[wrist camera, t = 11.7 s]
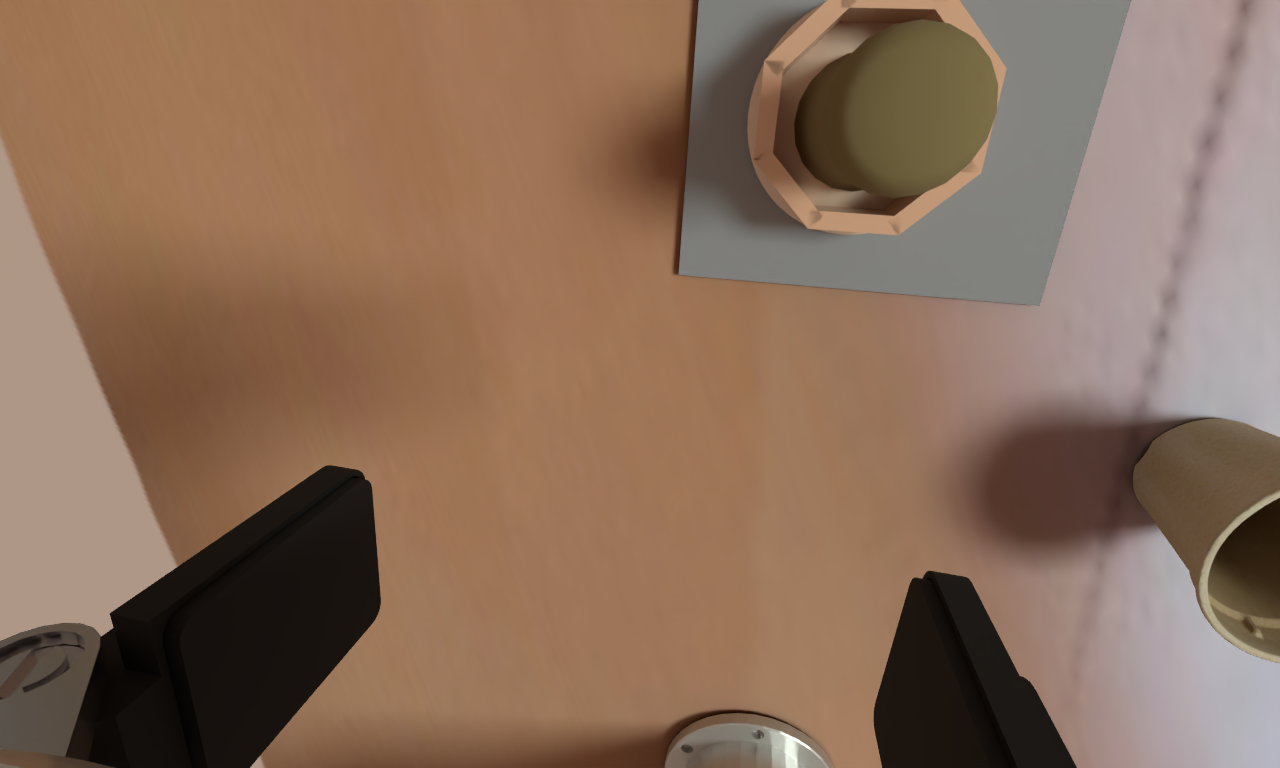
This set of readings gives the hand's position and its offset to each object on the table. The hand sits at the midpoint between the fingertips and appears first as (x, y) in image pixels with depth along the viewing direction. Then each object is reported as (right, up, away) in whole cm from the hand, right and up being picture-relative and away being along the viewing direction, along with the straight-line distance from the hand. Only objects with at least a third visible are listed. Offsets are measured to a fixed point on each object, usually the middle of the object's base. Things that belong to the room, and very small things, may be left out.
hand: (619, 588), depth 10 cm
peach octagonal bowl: (+11, +16, +18) cm, 26 cm away
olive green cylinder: (+11, +16, +18) cm, 26 cm away
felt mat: (+12, +16, +18) cm, 27 cm away
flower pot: (+30, -1, +22) cm, 37 cm away
